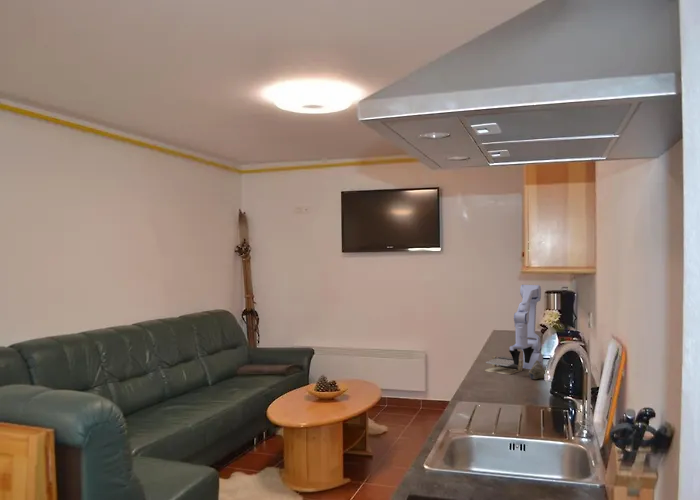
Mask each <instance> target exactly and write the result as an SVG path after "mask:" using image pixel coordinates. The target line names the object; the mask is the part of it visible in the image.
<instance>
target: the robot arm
mask: <svg viewBox="0 0 700 500" xmlns="http://www.w3.org/2000/svg"><path fill="white" fill-rule="evenodd" d="M519 292H520V296H521V299H522V301H521V302H520V303H519V304H518V307H517V310H516V312H514V314H513V322H514V327H515V329H514V330H515V343H514V344H513V345H510V346H509V350H508V352H509V353H510V355H511V357H512V358H513V361H514V364H515V365H518V364H519V358H520V354H521V351H522V352H523V353H522V355H523V356H522V365H523V369H525V370H526V369H527V370H530V369H531V368H532V367H533V365H534V363H535V362H536V360H537V361H539V362H540V364H541V365H542V367H543V368H544V361H543V360H544V356H543V353H542V352H540V351H541V349H542V347H541V346H542V344H541V337H540V336H539V334H537V333H536V321H537V305H538V302H541V298H542V288H541V285H540V284H521V285H520V289H519ZM519 350H521V351H519Z"/></svg>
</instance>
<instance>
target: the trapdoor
mask: <svg viewBox="0 0 700 500" xmlns="http://www.w3.org/2000/svg"><path fill="white" fill-rule="evenodd" d="M519 360H522V361H523V358H521V357H519ZM485 364H490V365H492V364H496V366H498V367H504V368H511V369H518V365H515V364H514V361H513V358H512V356H510V357H509V356H505V355H504V356H503V355H501V356H499V357H496V358H495V359H492V358H491V359H490V360H488V361H485Z"/></svg>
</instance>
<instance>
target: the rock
mask: <svg viewBox="0 0 700 500" xmlns="http://www.w3.org/2000/svg"><path fill="white" fill-rule="evenodd" d="M528 370H529V371H528V376H529V377H530V379H531V380H539V379H545V378H544V374H545V371H546V369H544V366H543V367H542V365H541V364H540V362H539V361H537V360H536V362H535V363H534V365H533V367H532V368H531V369H528Z"/></svg>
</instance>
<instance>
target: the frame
mask: <svg viewBox="0 0 700 500" xmlns="http://www.w3.org/2000/svg"><path fill="white" fill-rule="evenodd" d="M495 358H497V356H495V355H492V356H491V360H492V359H495ZM523 369H524V368H523V359H522V360H519V364H518V368H511V367H504V366H498V365H496V364H491V367H490V368H486V369H485V370H484V369H483V370H484V372H489V373H496V374H503V375H510V376H511V375H513V374H514V375H515V374H516V373H518V372H523Z"/></svg>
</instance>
